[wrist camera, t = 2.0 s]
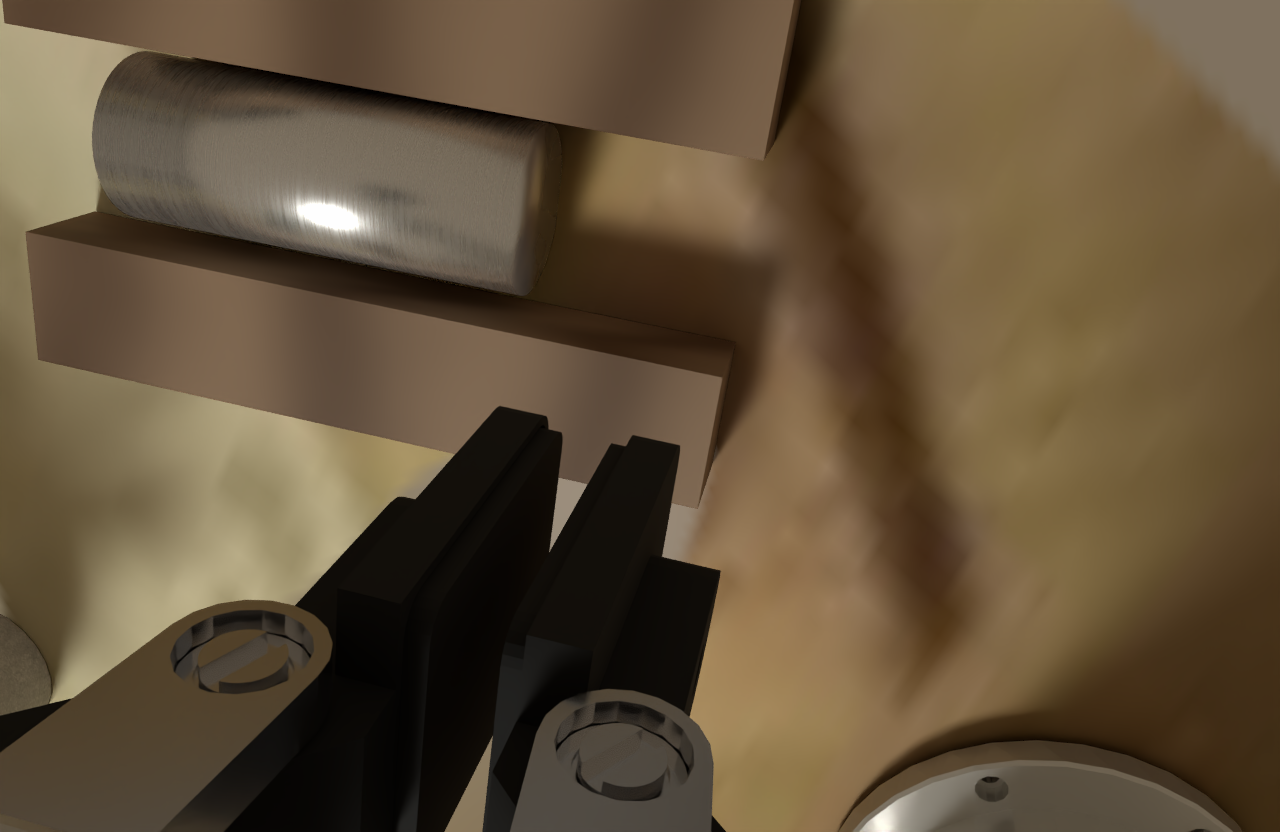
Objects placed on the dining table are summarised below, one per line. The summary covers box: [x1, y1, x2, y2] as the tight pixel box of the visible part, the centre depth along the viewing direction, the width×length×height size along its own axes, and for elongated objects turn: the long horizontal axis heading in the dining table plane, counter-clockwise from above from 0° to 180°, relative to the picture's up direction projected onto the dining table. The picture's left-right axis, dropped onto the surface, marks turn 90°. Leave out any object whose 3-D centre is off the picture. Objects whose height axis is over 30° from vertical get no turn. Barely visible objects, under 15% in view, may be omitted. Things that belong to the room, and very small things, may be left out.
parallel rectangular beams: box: [2, 0, 801, 509], centre depth 25 cm, size 18×12×3 cm, turn 82°
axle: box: [92, 51, 562, 296], centre depth 25 cm, size 10×4×4 cm, turn 82°
